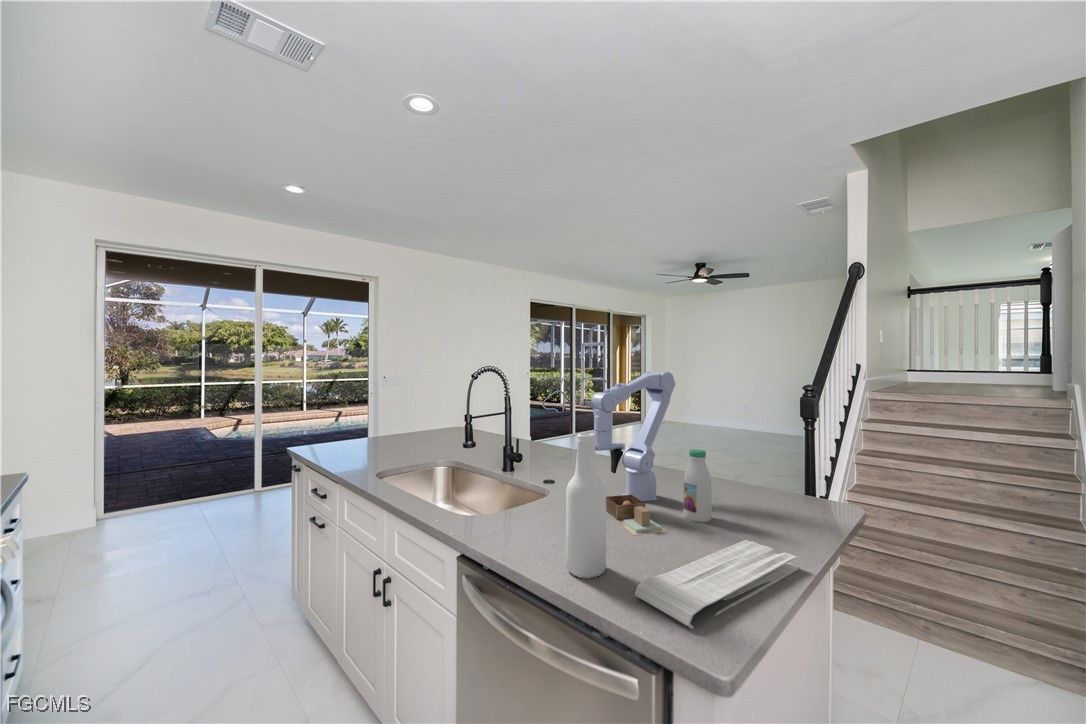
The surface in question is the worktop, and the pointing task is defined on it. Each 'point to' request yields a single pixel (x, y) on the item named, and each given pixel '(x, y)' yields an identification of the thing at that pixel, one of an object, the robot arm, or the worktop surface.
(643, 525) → the lid
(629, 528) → the mat
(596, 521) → the alcohol
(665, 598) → the hand towel
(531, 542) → the worktop surface
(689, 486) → the milk bottle
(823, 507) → the worktop surface
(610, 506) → the box
